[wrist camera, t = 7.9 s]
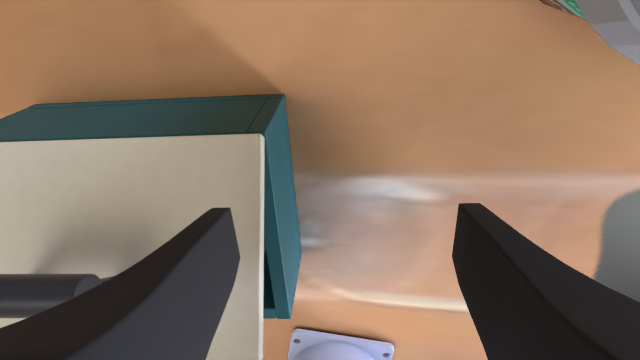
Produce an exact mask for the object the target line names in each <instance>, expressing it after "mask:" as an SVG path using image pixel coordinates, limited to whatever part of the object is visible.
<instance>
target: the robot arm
mask: <svg viewBox="0 0 640 360" xmlns="http://www.w3.org/2000/svg"><path fill="white" fill-rule="evenodd" d="M452 258H453V262H454V267H455V271H456V275H457V279H458V283H459V286H460V289H461V291H462V294H463V296H464V299H465V301H466V304H467V307H468V309H469V312H470V314H471V317H472V319H473V322H474V324H475V327H476V329H477V332H478V334H479V337H480V339H481V342H482V344H483V347H484V349H485V352H486V355H487V358H488V360H640V302H638V301H635V300H633V299H631V298H629V297H627V296H625V295H623V294H620V293H618V292H616V291H614V290H612V289H610V288H608V287H606V286H604V285H602V284H600V283H598V282H597V281H595V280H593V279H591V278H589V277H588V276H586V275H584V274H582V273H580V272H579V271H577V270H575V269H573V268H571V267H570V266H568V265H566V264H565V263H563V262H561V261H560V260H558V259H557V258H555V257H554V256H552V255H551V254H549V253H548V252H546V251H544V250H543V249H541V248H540V247H538V246H537V245H536V244H534V243H533V242H531V241H530V240H528V239H527V238H526V237H524V236H523V235H522V234H520V233H519V232H517V231H516V230H515V229H513V228H512V227H511V226H509V225H508V224H507V223H505V222H504V221H503V220H502V219H500V218H499V217H498V216H496V215H495V214H494V213H492V212H491V211H490V210H488V209H487V208H486V207H484V206H483V205H481V204H480V203H465V204H459V207H458V215H457V222H456V230H455V238H454V245H453V253H452ZM239 262H240V252H239V247H238V242H237V237H236V232H235V227H234V223H233V218H232V213H231V208H230V207H229V208H211V209H210V210H208V211H207V212H205V213H204V214H203V215H201V216H200V217H199V218H197V219H196V220H195V221H194V222H192V223H191V224H190V225H188V226H187V227H186V228H185V229H183V230H182V231H181V232H179V233H178V234H177V235H175V236H174V237H173V238H171V239H170V240H169V241H168V242H166V243H165V244H163V245H162V246H160V247H159V248H158V249H156V250H155V251H153V252H152V253H151V254H149V255H148V256H146V257H145V258H143V259H142V260H140V261H139V262H137V263H136V264H134V265H133V266H131V267H130V268H128V269H126V270H125V271H123V272H121V273H119V274H118V275H116V276H114V277H113V278H111V279H109V280H107V281H106V282H104V283H102V284H100V285H98V286H96V287H94V288H92V289H90V290H88V291H86V292H84V293H82V294H80V295H78V296H76V297H74V298H72V299H70V300H68V301H66V302H64V303H61V304H59V305H57V306H55V307H52V308H50V309H48V310H45V311H43V312H41V313H38V314H36V315H33V316H31V317H29V318H26V319H23V320H21V321H18V322H16V323H13V324H10V325H7V326H5V327H2V328H0V360H206V357H207V354H208V351H209V349H210V346H211V343H212V340H213V338H214V335H215V333H216V330H217V328H218V325H219V323H220V320H221V318H222V315H223V312H224V310H225V307H226V305H227V302H228V300H229V297H230V294H231V292H232V289H233V286H234V283H235V279H236V275H237V271H238V267H239ZM393 353H394V346H393V344H391V343H388V342H381V341H375V340H368V339H362V338H356V337H349V336H343V335H336V334H330V333H324V332H317V331H311V330H305V329H294V330H293V331H292V334H291V340H290V346H289V352H288V358H287V360H391V358H392V356H393Z"/></svg>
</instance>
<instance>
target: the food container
mask: <svg viewBox="0 0 640 360" xmlns="http://www.w3.org/2000/svg"><path fill="white" fill-rule="evenodd" d="M540 1H541V2H543V3H544V4H547V5H549V6H551V7H554V8H556V9H558V10H561V11H564V12H567V13H569V14H572V15H575V16H577V17H580V18H583V19H586V20H587V21H588V23H589V25H590V26H591V27H592V28H593V29H594V30H595V31H596V32H597V33H598V34H599V35H600V36H601V37H602V38H603V40H604V41H605V42H606V43H607V44H608V45H609V46H610V47H612V48H613V49H615V50H616V51H618V52H619V53H621V54H622V55H624V56H625V57H626V58H628V59H629V60H631V61H632V62H634V63H636V64H639V65H640V0H540Z"/></svg>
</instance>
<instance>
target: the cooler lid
mask: <svg viewBox="0 0 640 360" xmlns="http://www.w3.org/2000/svg"><path fill="white" fill-rule="evenodd" d="M264 160H265V138H264V137H263V136H262V135H261V134H260V133H258V134H228V135H198V136H169V137H139V138H109V139H80V140H50V141H20V142H0V328H2V327H5V326H7V325H10V324H13V323H16V322H18V321H21V320H23V319H26V318H29V317H31V316H33V315H36V314H38V313H41V312H43V311H45V310H48V309H50V308H52V307H55V306H57V305H59V304H61V303H64V302H66V301H68V300H70V299H72V298H74V297H76V296H78V295H80V294H82V293H84V292H86V291H88V290H90V289H92V288H94V287H96V286H98V285H100V284H102V283H104V282H106V281H107V280H109V279H111V278H113V277H114V276H116V275H118V274H119V273H121V272H123V271H125V270H126V269H128V268H130V267H131V266H133V265H134V264H136V263H137V262H139V261H140V260H142V259H143V258H145V257H146V256H148V255H149V254H151V253H152V252H153V251H155V250H156V249H158V248H159V247H160V246H162V245H163V244H165V243H166V242H168V241H169V240H170V239H171V238H173V237H174V236H175V235H177V234H178V233H179V232H181V231H182V230H183V229H185V228H186V227H187V226H188V225H190V224H191V223H192V222H194V221H195V220H196V219H197V218H199V217H200V216H201V215H203V214H204V213H205V212H207V211H208V210H210V209H211V208H229V207H230V208H231V213H232V218H233V223H234V227H235V232H236V237H237V242H238V247H239V252H240V262H239V267H238V271H237V275H236V279H235V283H234V286H233V289H232V292H231V294H230V297H229V300H228V302H227V305H226V307H225V310H224V312H223V315H222V318H221V320H220V323H219V325H218V328H217V330H216V333H215V335H214V338H213V340H212V343H211V346H210V349H209V351H208V354H207V357H206V360H263V293H264Z"/></svg>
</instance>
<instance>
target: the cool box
mask: <svg viewBox="0 0 640 360" xmlns="http://www.w3.org/2000/svg"><path fill="white" fill-rule="evenodd" d="M258 133H260V134H261V135H262V136H263V137H264V138H265V160H264V293H263V318H276V317H277V319H291V314H292V308H293V302H294V296H295V290H296V284H297V278H298V272H299V266H300V260H301V244H300V235H299V226H298V216H297V207H296V197H295V188H294V179H293V169H292V160H291V151H290V141H289V132H288V122H287V113H286V104H285V95H284V94H270V95H247V96H223V97H200V98H176V99H153V100H129V101H106V102H82V103H59V104H35V105H33V106H30V107H28V108H26V109H23V110H21V111H18V112H16V113H14V114H11V115H9V116H7V117H4V118H2V119H0V142H20V141H50V140H80V139H109V138H139V137H169V136H198V135H228V134H258Z"/></svg>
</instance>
